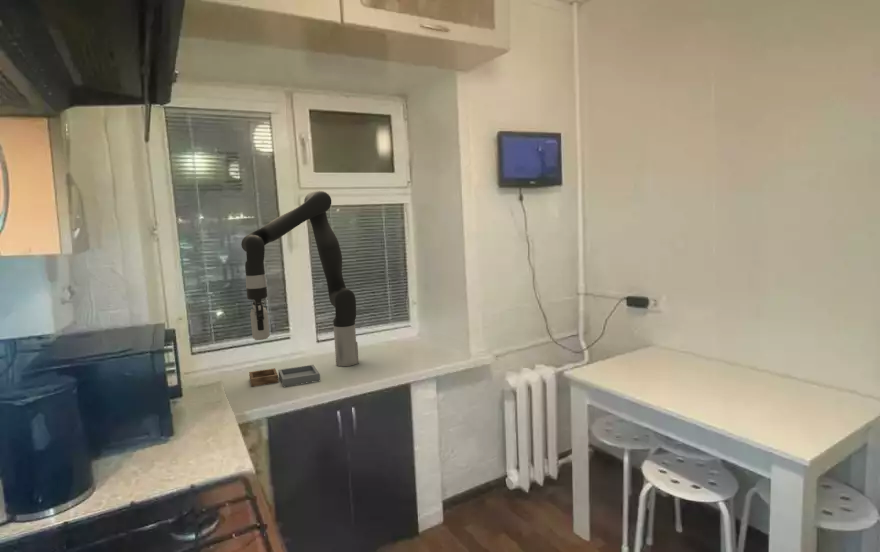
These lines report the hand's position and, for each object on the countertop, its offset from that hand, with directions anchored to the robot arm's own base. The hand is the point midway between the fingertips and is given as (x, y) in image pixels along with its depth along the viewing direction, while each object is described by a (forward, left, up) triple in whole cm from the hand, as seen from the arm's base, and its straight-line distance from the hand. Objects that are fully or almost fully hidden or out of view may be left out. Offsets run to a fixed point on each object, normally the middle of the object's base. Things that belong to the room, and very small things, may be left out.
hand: (260, 328), depth 202 cm
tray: (-13, +5, -21) cm, 25 cm away
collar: (0, 0, -21) cm, 21 cm away
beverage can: (0, 0, -4) cm, 4 cm away
